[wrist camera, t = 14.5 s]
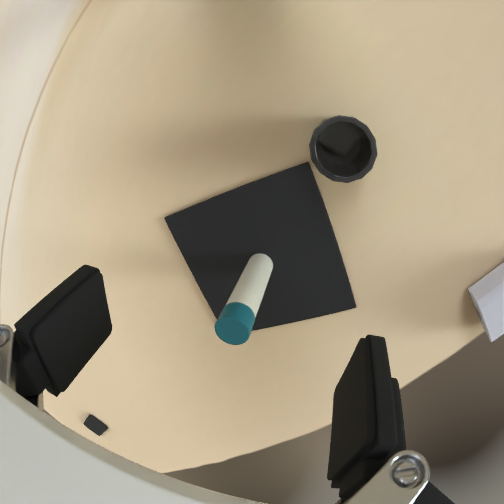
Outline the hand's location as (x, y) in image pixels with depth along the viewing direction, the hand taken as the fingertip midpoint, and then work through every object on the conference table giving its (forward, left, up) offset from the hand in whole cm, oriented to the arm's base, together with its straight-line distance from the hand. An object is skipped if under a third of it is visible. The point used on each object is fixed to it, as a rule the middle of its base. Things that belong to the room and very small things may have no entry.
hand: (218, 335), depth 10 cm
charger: (+23, +27, -27) cm, 45 cm away
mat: (+9, -8, -27) cm, 30 cm away
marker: (+9, -8, -27) cm, 29 cm away
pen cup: (-2, +6, -27) cm, 28 cm away
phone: (+51, -87, -27) cm, 104 cm away
